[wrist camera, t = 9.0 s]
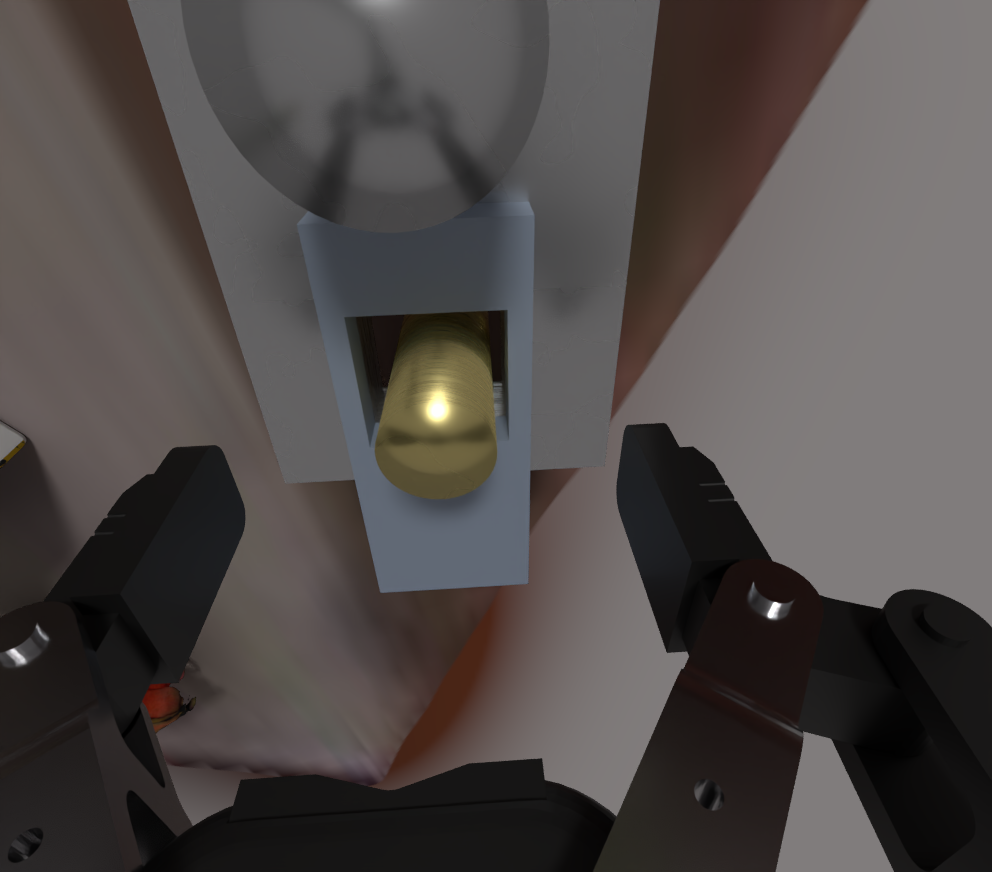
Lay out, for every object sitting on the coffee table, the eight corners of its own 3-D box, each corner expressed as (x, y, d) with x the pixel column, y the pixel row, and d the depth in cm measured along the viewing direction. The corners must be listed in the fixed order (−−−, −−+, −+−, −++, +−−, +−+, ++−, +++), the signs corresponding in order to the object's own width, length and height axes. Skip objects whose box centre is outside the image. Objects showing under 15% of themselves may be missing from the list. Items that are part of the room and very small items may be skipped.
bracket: (404, 421, 27) (380, 592, 19) (363, 146, 20) (296, 224, 12) (506, 416, 27) (528, 584, 19) (502, 141, 20) (534, 215, 12)
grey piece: (336, 350, 24) (232, 621, 13) (239, -104, 16) (-300, -448, 5) (561, 339, 25) (648, 595, 13) (584, -110, 16) (876, -449, 5)
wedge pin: (415, 223, 21) (365, 405, 11) (482, 220, 22) (496, 400, 11) (422, 287, 23) (383, 502, 13) (484, 285, 23) (498, 497, 13)
